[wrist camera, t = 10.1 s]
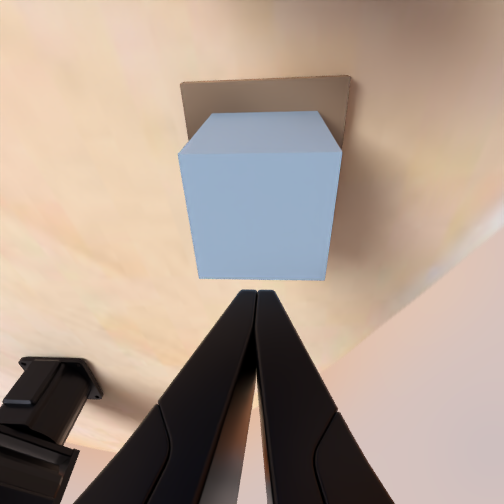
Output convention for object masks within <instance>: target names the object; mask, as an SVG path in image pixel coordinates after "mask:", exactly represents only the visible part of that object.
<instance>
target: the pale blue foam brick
mask: <svg viewBox="0 0 504 504" xmlns="http://www.w3.org/2000/svg"><path fill="white" fill-rule="evenodd" d="M178 159H179V165H180V170H181V176H182V182H183V188H184V194H185V199H186V205H187V211H188V217H189V223H190V228H191V234H192V240H193V246H194V252H195V257H196V263H197V269H198V275H199V279H257V280H325V275H326V268H327V260H328V253H329V246H330V239H331V231H332V224H333V217H334V210H335V202H336V195H337V188H338V181H339V173H340V166H341V159H342V150H341V149H340V147H339V146H338V144H337V142H336V141H335V139H334V137H333V136H332V134H331V132H330V131H329V129H328V127H327V126H326V124H325V122H324V121H323V119H322V117H321V116H320V114H319V112H318V111H291V112H248V113H212V114H211V115H210V117H209V118H208V119H207V120H206V121H205V122H204V124H203V125H202V126H201V127H200V128H199V130H198V131H197V132H196V133H195V134H194V136H193V137H192V138H191V139H190V140H189V142H188V143H187V144H186V145H185V146H184V147H183V149H182V150H181V151H180V152H179V153H178Z"/></svg>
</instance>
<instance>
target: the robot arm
mask: <svg viewBox="0 0 504 504" xmlns="http://www.w3.org/2000/svg"><path fill="white" fill-rule="evenodd" d="M18 363H19V365H20V366H21V367H22V368H23V370H24V373H23V374H22V375H21V377H20V378H19V379H18V381H17V382H16V383H15V385H14V386H13V387H12V389H11V390H10V391H9V393H8V394H7V395H6V396H5V398H4V399H3V401H2V402H3V404H2V406H1V407H0V504H60V502H61V500H62V497H63V495H64V492H65V489H66V487H67V484H68V481H69V479H70V476H71V473H72V471H73V468H74V465H75V463H76V460H77V458H78V455H79V452H80V451H79V450H77V449H70V448H68V447H64V446H63V445H64V443H65V441H66V439H67V437H68V435H69V433H70V431H71V429H72V428H73V426H74V424H75V422H76V420H77V418H78V416H79V414H80V412H81V410H82V408H83V406H84V404H85V403H86V401H87V399H102V397H103V395H104V394H103V392H102V390H101V389H100V387H99V385H98V383H97V382H96V380H95V378H94V377H93V375H92V373H91V371H90V370H89V368H88V366H87V365H86V363H85V362H84V361H83V360H81V359H66V358H30V357H23V358H21V359H20V361H19V362H18ZM256 372H257V388H258V400H259V412H260V422H261V435H262V447H263V458H264V469H265V481H266V493H267V504H395V503H394V502H393V500H392V499H391V497H390V496H389V494H388V492H387V491H386V489H385V488H384V486H383V485H382V483H381V482H380V480H379V478H378V477H377V475H376V474H375V472H374V471H373V469H372V468H371V466H370V464H369V463H368V461H367V459H366V458H365V456H364V454H363V452H362V451H361V449H360V448H359V445H358V444H357V442H356V440H355V439H354V437H353V435H352V433H351V432H350V430H349V428H348V426H347V424H346V422H345V420H344V419H343V417H342V415H341V413H340V412H337V411H338V408H337V406H336V404H335V402H334V400H333V399H332V397H331V395H330V393H329V391H328V389H327V387H326V386H325V384H324V382H323V380H322V378H321V376H320V374H319V372H318V371H317V369H316V367H315V365H314V363H313V361H312V359H311V358H310V356H309V354H308V352H307V350H306V348H305V346H304V345H303V343H302V341H301V339H300V337H299V335H298V333H297V332H296V330H295V328H294V326H293V324H292V322H291V320H290V319H289V317H288V315H287V313H286V311H285V309H284V307H283V306H282V304H281V302H280V300H279V298H278V296H277V294H276V293H275V291H273V290H259V291H258V293H257V291H256V290H241V291H240V292H239V293H238V294H237V296H236V297H235V298H234V300H233V301H232V302H231V304H230V305H229V306H228V308H227V309H226V310H225V312H224V313H223V314H222V316H221V317H220V318H219V320H218V321H217V322H216V324H215V325H214V326H213V328H212V329H211V330H210V332H209V333H208V334H207V336H206V337H205V339H204V340H203V341H202V343H201V344H200V345H199V347H198V348H197V349H196V351H195V352H194V353H193V355H192V356H191V357H190V359H189V360H188V361H187V363H186V364H185V365H184V367H183V368H182V369H181V371H180V372H179V373H178V375H177V376H176V377H175V379H174V380H173V381H172V383H171V384H170V385H169V387H168V388H167V389H166V391H165V392H164V394H163V395H162V396H161V398H160V399H159V400H158V404H159V405H158V404H155V405H154V407H153V408H152V409H151V411H150V412H149V413H148V415H147V416H146V417H145V419H144V420H143V422H142V423H141V424H140V425H139V427H138V428H137V429H136V430H135V432H134V433H133V434H132V436H131V437H130V438H129V439H128V441H127V442H126V443H125V444H124V446H123V447H122V448H121V449H120V451H119V452H118V453H117V454H116V455H115V456H114V458H113V459H112V460H111V461H110V462H109V463H108V464H107V466H106V467H105V468H104V469H103V470H102V472H101V473H100V474H99V475H98V476H97V477H96V478H95V480H94V481H93V482H92V483H91V484H90V485H89V486H88V487H87V489H86V490H85V491H84V492H83V493H82V494H81V495H80V496H79V497H78V499H77V500H76V501H75V502H74V503H73V504H237V498H238V492H239V485H240V479H241V473H242V466H243V460H244V453H245V447H246V441H247V434H248V427H249V422H250V415H251V409H252V403H253V396H254V390H255V383H256Z"/></svg>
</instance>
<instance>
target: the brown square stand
mask: <svg viewBox="0 0 504 504" xmlns="http://www.w3.org/2000/svg"><path fill="white" fill-rule="evenodd" d="M350 80H351V77H350V76H348V75H340V76H316V77H292V78H268V79H244V80H220V81H196V82H183V83H181V84H180V88H181V95H182V101H183V107H184V114H185V120H186V127H187V133H188V139H189V140H190V139H191V138H192V137H193V136H194V134H195V133H196V132H197V131H198V130H199V128H200V127H201V126H202V125H203V124H204V122H205V121H206V120H207V119H208V118H209V117H210V115H211V114H212V113H248V112H291V111H318V112H319V114H320V116H321V117H322V119H323V121H324V122H325V124H326V126H327V127H328V129H329V131H330V132H331V134H332V136H333V137H334V139H335V141H336V142H337V144H338V146H339V147H340V149H341V150H342V143H343V135H344V127H345V120H346V112H347V104H348V96H349V88H350Z"/></svg>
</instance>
